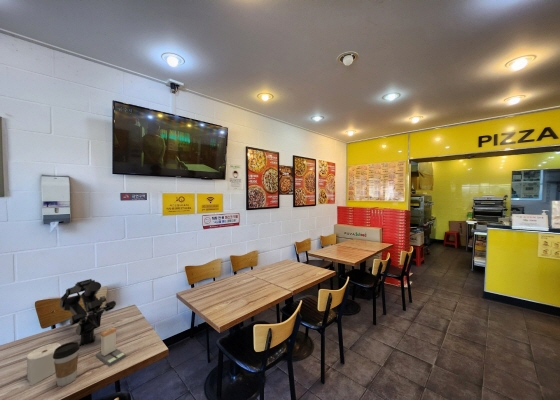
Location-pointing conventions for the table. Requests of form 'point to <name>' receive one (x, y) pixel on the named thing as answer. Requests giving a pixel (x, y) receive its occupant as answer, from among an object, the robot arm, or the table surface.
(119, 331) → the table surface
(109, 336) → the cream box
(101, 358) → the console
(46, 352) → the toilet tissue
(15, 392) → the table surface
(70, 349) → the coffee cup
